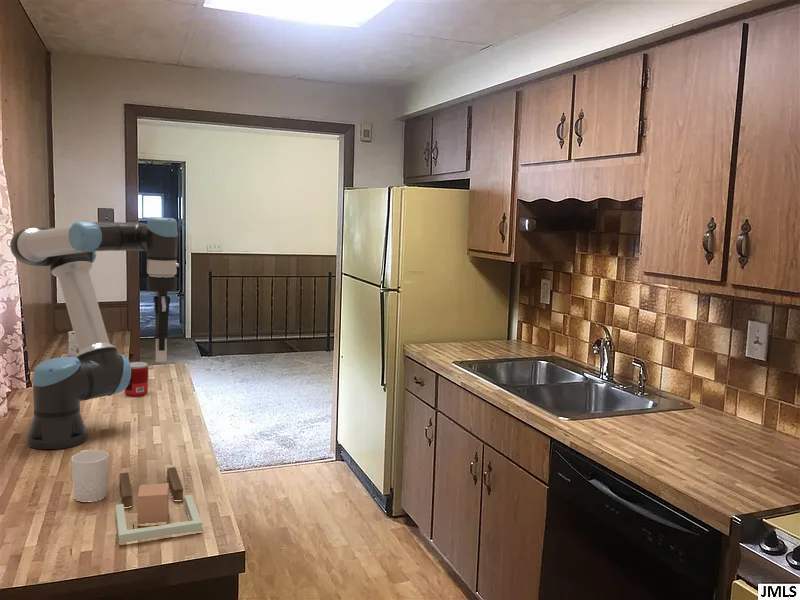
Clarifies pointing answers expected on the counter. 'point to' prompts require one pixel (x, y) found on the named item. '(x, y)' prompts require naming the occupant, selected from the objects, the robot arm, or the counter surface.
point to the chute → (172, 480)
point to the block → (153, 503)
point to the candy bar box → (72, 345)
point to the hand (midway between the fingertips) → (161, 361)
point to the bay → (160, 530)
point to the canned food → (138, 380)
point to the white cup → (90, 475)
